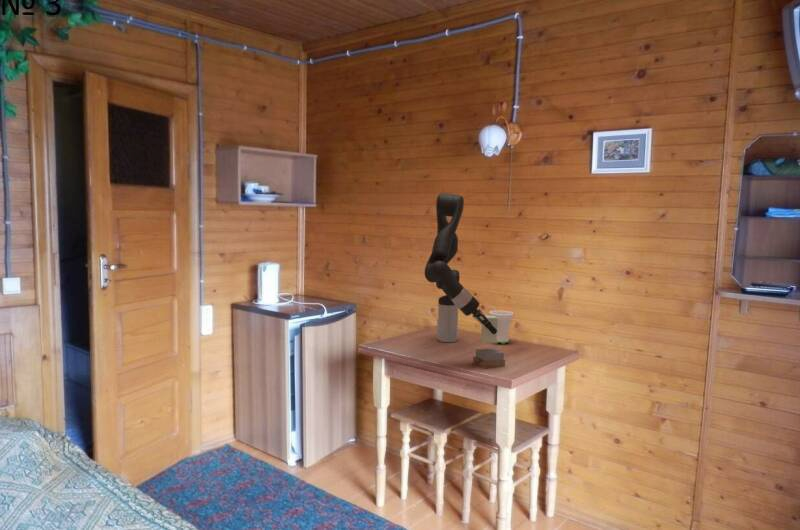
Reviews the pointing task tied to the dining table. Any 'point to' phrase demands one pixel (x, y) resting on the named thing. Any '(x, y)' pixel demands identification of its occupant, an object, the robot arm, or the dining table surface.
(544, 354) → the dining table surface
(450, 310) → the robot arm
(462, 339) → the dining table surface
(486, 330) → the sage pillar
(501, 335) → the cup
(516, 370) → the dining table surface
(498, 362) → the walnut slab
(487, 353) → the charcoal slab
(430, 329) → the dining table surface
